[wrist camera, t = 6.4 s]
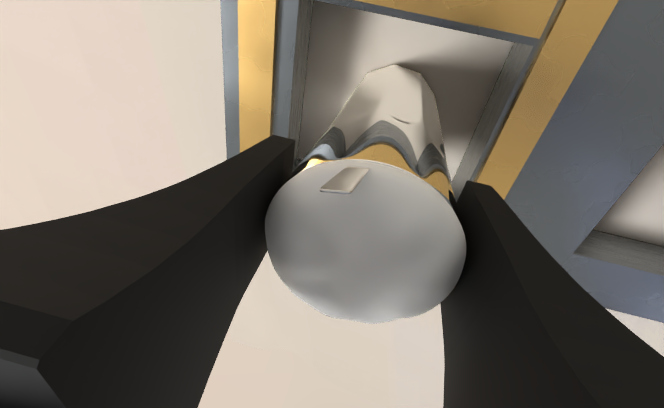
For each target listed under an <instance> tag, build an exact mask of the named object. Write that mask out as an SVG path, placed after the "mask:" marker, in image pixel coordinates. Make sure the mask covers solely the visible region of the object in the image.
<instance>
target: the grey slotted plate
mask: <svg viewBox="0 0 664 408" xmlns="http://www.w3.org/2000/svg"><path fill="white" fill-rule="evenodd" d="M316 1H321V2H326V3H330V4H335V5H340V6H345V7H349V8H354V9H359V10H364V11H368V12H373V13H378V14H383V15H387V16H392V17H397V18H402V19H406V20H411V21H416V22H421V23H425V24H430V25H435V26H440V27H444V28H449V29H454V30H459V31H463V32H468V33H473V34H478V35H482V36H487V37H492V38H497V39H502V40H506V41H511V42H514V44H513V46H512V48H511V51H510V53H509V55H508V57H507V60H506V62H505V64H504V66H503V69H502V71H501V73H500V75H499V78H498V80H497V82H496V85H495V87H494V89H493V91H492V94H491V96H490V98H489V100H488V103H487V105H486V107H485V109H484V112H483V114H482V116H481V118H480V121H479V123H478V125H477V127H476V130H475V132H474V134H473V137H472V139H471V141H470V143H469V146H468V148H467V150H466V152H465V155H464V157H463V159H462V161H461V164H460V166H459V168H458V170H457V173H456V175H455V177H454V179H453V182H452V187H453V192H454V196H455V200H456V202H457V200H458V198H459V196H460V194H461V192H462V190H463V188H464V186H465V183H466V181H467V180H469V181H473V182H478V183H482V184H486V185H490V186H492V187H493V188H494V189H495V190H496V191H497V193H498V194H499V195H500V196H501V197H502V198H503V200H504V201H505V202H506V203H507V204H508V206H509V207H510V208H511V209H512V210H513V212H514V213H515V214H516V215H517V216H518V218H519V219H520V220H521V221H522V222H523V224H524V225H525V226H526V227H527V228H528V230H529V231H530V232H531V233H532V234H533V235H534V237H535V238H536V239H537V240H538V241H539V242H540V244H541V245H542V246H543V247H544V248H545V249H546V250H547V251H548V252H549V254H550V255H551V256H552V257H553V258H554V259H555V260H556V261H557V262H558V263H559V264H560V265H561V266H562V267H563V268H564V269H565V270H566V272H567V273H568V274H569V275H570V276H571V277H572V278H573V279H574V280H575V281H576V282H577V283H578V284H579V285H580V286H581V287H582V288H583V289H584V290H585V291H587V292H588V293H589V294H590V295H591V296H592V297H593V298H594V299H595V300H596V301H598V302H599V303H600V304H601V305H602V306H603V307H604V308H607V309H611V310H615V311H619V312H623V313H627V314H631V315H635V316H639V317H643V318H647V319H651V320H654V321H658V322H662V323H664V247H662V246H658V245H654V244H649V243H645V242H641V241H637V240H633V239H629V238H624V237H620V236H616V235H612V234H608V233H603V232H599V231H595V230H593V228H594V227H595V226H596V225H597V224H598V222H599V221H600V220H601V219H602V218H603V216H604V215H605V214H606V213H607V212H608V210H609V209H610V208H611V207H612V206H613V204H614V203H615V202H616V201H617V199H618V198H619V197H620V196H621V195H622V193H623V192H624V191H625V190H626V189H627V187H628V186H629V185H630V184H631V183H632V181H633V180H634V179H635V178H636V177H637V175H638V174H639V173H640V172H641V171H642V169H643V168H644V167H645V166H646V164H647V163H648V162H649V161H650V160H651V158H652V157H653V156H654V155H655V154H656V152H657V151H658V150H659V149H660V148H661V146H662V145H663V144H664V0H316ZM312 8H313V0H221V24H222V49H223V73H224V98H225V123H226V147H227V160H228V159H230V158H232V157H233V156H235V155H237V154H239V153H241V152H243V151H245V150H246V149H248V148H250V147H252V146H253V145H255V144H257V143H259V142H261V141H262V140H264V139H266V138H268V137H270V136H272V135H277V136H281V137H285V138H290V139H294V140H295V151H294V161H293V171H294V170H295V169H296V168H297V166H298V165H299V164H300V162H301V161H302V160H298V159H297V154H298V144H299V134H300V125H301V115H302V105H303V96H304V86H305V76H306V66H307V57H308V47H309V37H310V28H311V18H312ZM292 173H293V172H292Z"/></svg>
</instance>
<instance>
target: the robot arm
mask: <svg viewBox="0 0 664 408" xmlns="http://www.w3.org/2000/svg"><path fill="white" fill-rule="evenodd" d="M294 151H295V140H294V139H290V138H285V137H281V136H277V135H272V136H270V137H268V138H266V139H264V140H262V141H261V142H259V143H257V144H255V145H253V146H252V147H250V148H248V149H246V150H245V151H243V152H241V153H239V154H237V155H235V156H233V157H232V158H230V159H228V160H226V161H224V162H222V163H220V164H218V165H216V166H214V167H212V168H210V169H208V170H205V171H203V172H201V173H199V174H197V175H195V176H193V177H191V178H189V179H186V180H184V181H182V182H179V183H177V184H174V185H172V186H169V187H167V188H164V189H161V190H158V191H156V192H153V193H150V194H147V195H144V196H141V197H138V198H135V199H132V200H128V201H125V202H121V203H118V204H114V205H111V206H107V207H104V208H101V209H97V210H94V211H90V212H86V213H82V214H78V215H73V216H69V217H65V218H60V219H56V220H51V221H46V222H41V223H37V224H32V225H27V226H21V227H16V228H10V229H4V230H0V408H197V407H198V405H199V402H200V399H201V397H202V394H203V392H204V389H205V386H206V383H207V381H208V378H209V376H210V373H211V371H212V368H213V366H214V363H215V361H216V358H217V356H218V353H219V351H220V348H221V346H222V343H223V341H224V338H225V336H226V333H227V331H228V329H229V326H230V324H231V321H232V319H233V317H234V314H235V312H236V309H237V307H238V305H239V303H240V301H241V299H242V297H243V295H244V293H245V291H246V289H247V287H248V285H249V283H250V282H251V280H252V278H253V276H254V274H255V272H256V271H257V269H258V267H259V265H260V263H261V261H262V260H263V258H264V256H265V254H266V252H267V250H268V249H267V243H266V236H265V217H266V213H267V210H268V207H269V205H270V203H271V201H272V199H273V198H274V196H275V195H276V193H277V192H278V191H279V189H280V188H281V187H282V186H283V184H284V183H285V182H286V180H287V179H288V178H289V177H290V175H291V174H292V172H293V161H294ZM456 204H457V208H458V213H459V217H460V221H461V225H462V228H463V231H464V234H465V239H466V258H465V263H464V266H463V270H462V273H461V275H460V278H459V280H458V282H457V284H456V286H455V287H454V289H453V290H452V292H451V293H450V294H449V295H448V296H447V297H446V298H445V299H444V300H443V301H442V302H441V313H442V326H443V338H444V356H445V373H444V406H443V408H664V357H663V356H662V355H660V354H659V353H658V352H657V351H655V350H654V349H653V348H652V347H650V346H649V345H648V344H647V343H645V342H644V341H643V340H642V339H640V338H639V337H638V336H637V335H635V334H634V333H633V332H632V331H630V330H629V329H628V328H627V327H626V326H625V325H623V324H622V323H621V322H620V321H619V320H618V319H616V318H615V317H614V316H613V315H612V314H611V313H610V312H608V311H607V310H606V309H605V308H604V307H603V306H602V305H601V304H600V303H599V302H598V301H596V300H595V299H594V298H593V297H592V296H591V295H590V294H589V293H588V292H587V291H585V290H584V289H583V288H582V287H581V286H580V285H579V284H578V283H577V282H576V281H575V280H574V279H573V278H572V277H571V276H570V275H569V274H568V273H567V272H566V270H565V269H564V268H563V267H562V266H561V265H560V264H559V263H558V262H557V261H556V260H555V259H554V258H553V257H552V256H551V255H550V254H549V252H548V251H547V250H546V249H545V248H544V247H543V246H542V245H541V244H540V242H539V241H538V240H537V239H536V238H535V237H534V235H533V234H532V233H531V232H530V231H529V230H528V228H527V227H526V226H525V225H524V224H523V222H522V221H521V220H520V219H519V218H518V216H517V215H516V214H515V213H514V212H513V210H512V209H511V208H510V207H509V206H508V204H507V203H506V202H505V201H504V200H503V198H502V197H501V196H500V195H499V194H498V193H497V191H496V190H495V189H494V188H493V187H492V186H490V185H486V184H482V183H478V182H473V181H469V180H467V181H466V183H465V186H464V188H463V190H462V192H461V194H460V196H459V198H458V200H457V202H456Z"/></svg>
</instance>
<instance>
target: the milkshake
mask: <svg viewBox="0 0 664 408" xmlns="http://www.w3.org/2000/svg"><path fill="white" fill-rule="evenodd" d="M265 236H266V243H267V249H268V253H269V256H270V259H271V262H272V264H273V266H274V269H275V271H276V272H277V274H278V276H279V277H280V279H281V280H282V281H283V283H284V284H285V285H286V286H287V288H288V289H289V290H290V291H291V292H292V293H293V294H294V295H295V296H297V297H298V298H299V299H301V300H302V301H304V302H305V303H307V304H308V305H310V306H311V307H313V308H314V309H316V310H317V311H319V312H320V313H322V314H324V315H326V316H329V317H332V318H337V319H345V320H351V321H357V322H362V323H369V324H377V323H384V322H389V321H392V320H396V319H401V318H409V317H414V316H418V315H421V314H423V313H425V312H427V311H429V310H430V309H432V308H434V307H435V306H437V305H438V304H440V303H441V302H442V301H443V300H444V299H445V298H446V297H447V296H448V295H449V294H450V293H451V292H452V290H453V289H454V287H455V286H456V284H457V282H458V280H459V278H460V275H461V273H462V270H463V266H464V263H465V258H466V239H465V234H464V231H463V228H462V225H461V221H460V217H459V213H458V208H457V204H456V200H455V196H454V192H453V187H452V183H451V179H450V175H449V170H448V165H447V160H446V154H445V148H444V142H443V137H442V131H441V126H440V120H439V115H438V109H437V104H436V99H435V95H434V94H433V92H432V91H431V89H430V88H429V86H428V84H427V83H426V81H425V80H424V78H423V76H422V75H421V73H418V72H415V71H412V70H409V69H406V68H404V67H401V66H398V65H395V64H394V65H390V66H387V67H384V68H381V69H377V70H374V71H371V72H368V73H367V74H366V76H365V77H364V78H363V80H362V81H361V82H360V84H359V85H358V86H357V88H356V89H355V90H354V92H353V93H352V94H351V96H350V97H349V99H348V100H347V102H346V103H345V105H344V106H343V108H342V109H341V111H340V112H339V114H338V115H337V116H336V118H335V119H334V121H333V122H332V124H331V125H330V127H329V128H328V130H327V131H326V132H325V133H324V134H323V135H322V137H321V138H320V139H319V140H318V141H317V142H316V144H315V145H314V146H313V147H312V148H311V150H310V151H309V152H308V154H307V155H306V156H305V157H304V159H303V160H302V161H301V162H300V164H299V165H298V166H297V168H296V169H295V170H294V171H293V173H292V174H291V175H290V177H289V178H288V179H287V180H286V182H285V183H284V184H283V186H282V187H281V188H280V189H279V191H278V192H277V193H276V195H275V196H274V198H273V199H272V201H271V203H270V205H269V207H268V210H267V213H266V217H265Z"/></svg>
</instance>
